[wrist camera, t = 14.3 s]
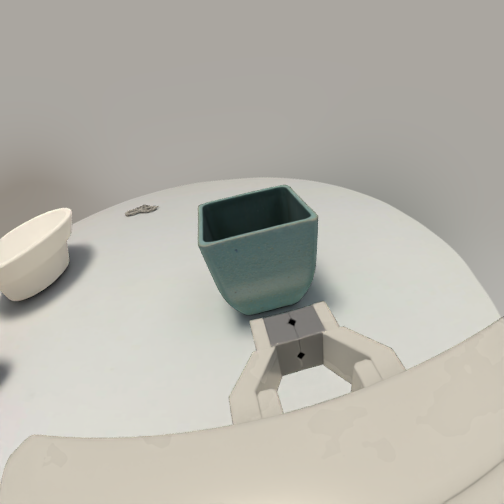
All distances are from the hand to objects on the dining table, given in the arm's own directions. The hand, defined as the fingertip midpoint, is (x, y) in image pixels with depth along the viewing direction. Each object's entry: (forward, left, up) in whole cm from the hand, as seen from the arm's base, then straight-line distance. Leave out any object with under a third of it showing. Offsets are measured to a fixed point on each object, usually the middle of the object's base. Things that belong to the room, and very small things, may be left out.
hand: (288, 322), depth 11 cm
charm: (+49, +18, -10) cm, 53 cm away
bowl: (+30, +35, -10) cm, 47 cm away
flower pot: (+14, -1, -10) cm, 18 cm away
